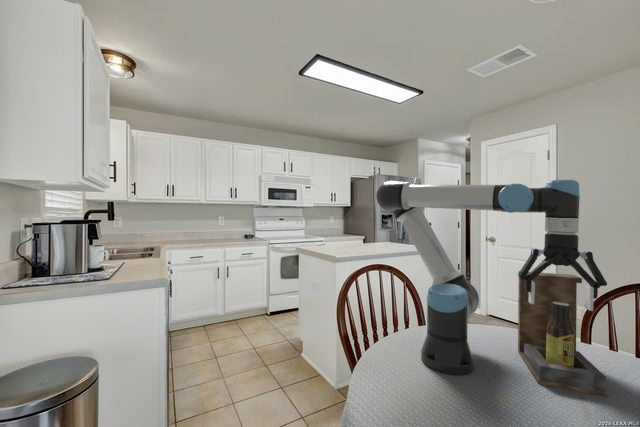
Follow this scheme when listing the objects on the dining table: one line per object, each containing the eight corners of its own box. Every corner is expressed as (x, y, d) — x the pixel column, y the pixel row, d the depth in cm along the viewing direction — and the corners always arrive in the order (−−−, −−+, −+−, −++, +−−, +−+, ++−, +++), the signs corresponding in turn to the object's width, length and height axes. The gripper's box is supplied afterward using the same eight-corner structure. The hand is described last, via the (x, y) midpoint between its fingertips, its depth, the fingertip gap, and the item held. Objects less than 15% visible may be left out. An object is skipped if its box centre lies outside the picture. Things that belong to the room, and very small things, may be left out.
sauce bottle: (567, 380, 80) (568, 308, 80) (541, 369, 85) (542, 302, 85) (578, 374, 83) (579, 305, 83) (552, 364, 88) (553, 299, 88)
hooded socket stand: (537, 383, 80) (538, 283, 80) (517, 351, 98) (518, 271, 98) (608, 396, 74) (609, 289, 74) (573, 360, 93) (573, 274, 93)
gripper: (514, 232, 85) (512, 303, 85) (625, 236, 76) (623, 316, 76) (508, 230, 92) (506, 297, 92) (609, 234, 83) (607, 308, 83)
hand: (559, 306), depth 84 cm, fingers open, 13 cm apart
